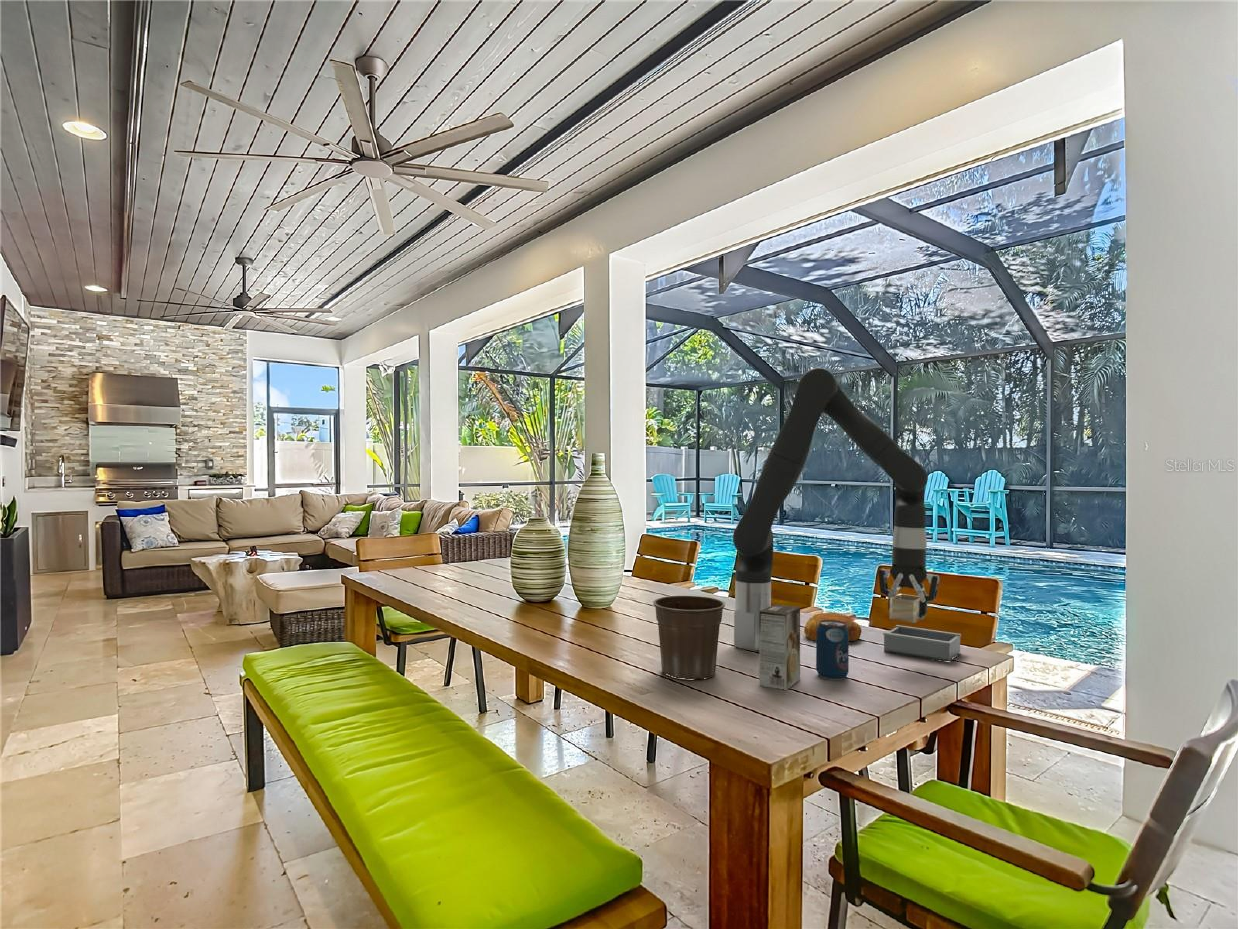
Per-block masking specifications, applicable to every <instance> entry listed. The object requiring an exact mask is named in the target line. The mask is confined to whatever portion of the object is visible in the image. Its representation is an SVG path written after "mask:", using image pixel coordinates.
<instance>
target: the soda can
mask: <svg viewBox="0 0 1238 929" xmlns="http://www.w3.org/2000/svg"><path fill="white" fill-rule="evenodd" d="M815 642H816V644H815V650H816V651H815V653H816V654H815V655H816V656H815V662H816V663H815V669H816V672H817V673H818V674H817V675H818V676H819V677H820V678H822V679H824V680H825V679H826V680H829V679H830V681H842V680H844V679H846V677H847V676H848V674H849V670H850V669H849V663H850V662H849V656H850V655H849V651H850V650H849V648H850V646H849V642H850V641H849V632H848V629H847V627H846V623H844V622H841V621H835V620H823V621H820V622H819V626H818V627H817V629H816V641H815Z"/></svg>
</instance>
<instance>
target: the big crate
mask: <svg viewBox="0 0 1238 929" xmlns="http://www.w3.org/2000/svg"><path fill="white" fill-rule="evenodd" d="M882 635H883V652H884V653H890V654H895V655H902V656H908V657H913V658H918V657H919V658H921V659H924V658H926V660H930V659H934V660H933V661H936V660H941V661H940V662H942V661H951V660H952V658H953V657H955V656H956V655H957V654H959V652H960V653H961V637H962V633H956V632H948V631H941V630H936V629H927V628H920V627H913V626H907V625H899V624H896V625H895V627H894V628H892V629H891V630H889V631H887V632H886V631H883V633H882ZM959 655H960V654H959ZM956 657H957V656H956ZM956 657H955V658H956ZM919 658H918V659H919ZM952 661H953V660H952ZM952 661H951V662H952Z"/></svg>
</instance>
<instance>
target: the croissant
mask: <svg viewBox="0 0 1238 929" xmlns="http://www.w3.org/2000/svg"><path fill="white" fill-rule="evenodd" d="M823 620H835V621H841V622H844V623H846V627H847V629H848V632H849V642H851V641H852V642H853V641H857V640H858V639H860V638H861V636H862V627H861V626H860V625H859V623H857V622H855V621H854V620H853V619H852V618H851V617H850V616H849V615H846V614H842V613H839V612H822V613H816V614H814V615H812V616H811V617H810V618H809V619H808V620H807V622H806V623H805V626H804V629H803V634H805V636H806V637H807V638H808V639H810V640H811V641H814V640H815V641H814V642H816V629H817V627H818V626H819V622H820V621H823Z"/></svg>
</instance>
